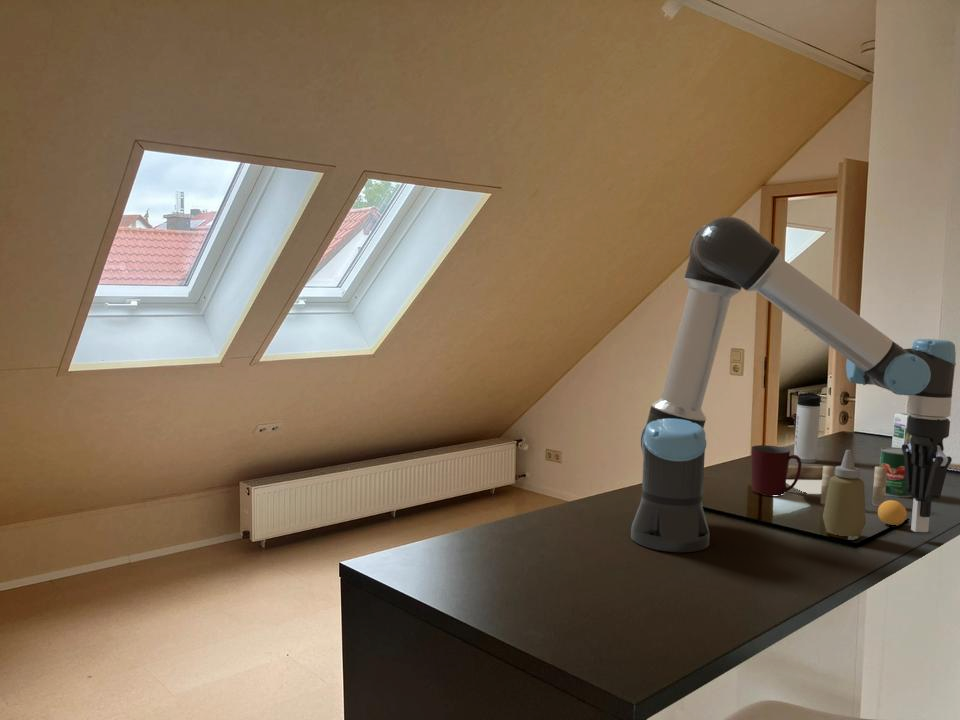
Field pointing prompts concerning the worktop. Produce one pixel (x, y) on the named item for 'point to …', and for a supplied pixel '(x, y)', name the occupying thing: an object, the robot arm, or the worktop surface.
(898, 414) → the syrup box
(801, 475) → the stopper strip
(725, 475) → the worktop surface
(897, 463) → the canned tomato
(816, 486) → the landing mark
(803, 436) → the travel mug
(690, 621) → the worktop surface
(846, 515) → the squeeze bottle
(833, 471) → the post
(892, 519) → the ball
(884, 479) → the post
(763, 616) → the worktop surface
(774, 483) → the mug
